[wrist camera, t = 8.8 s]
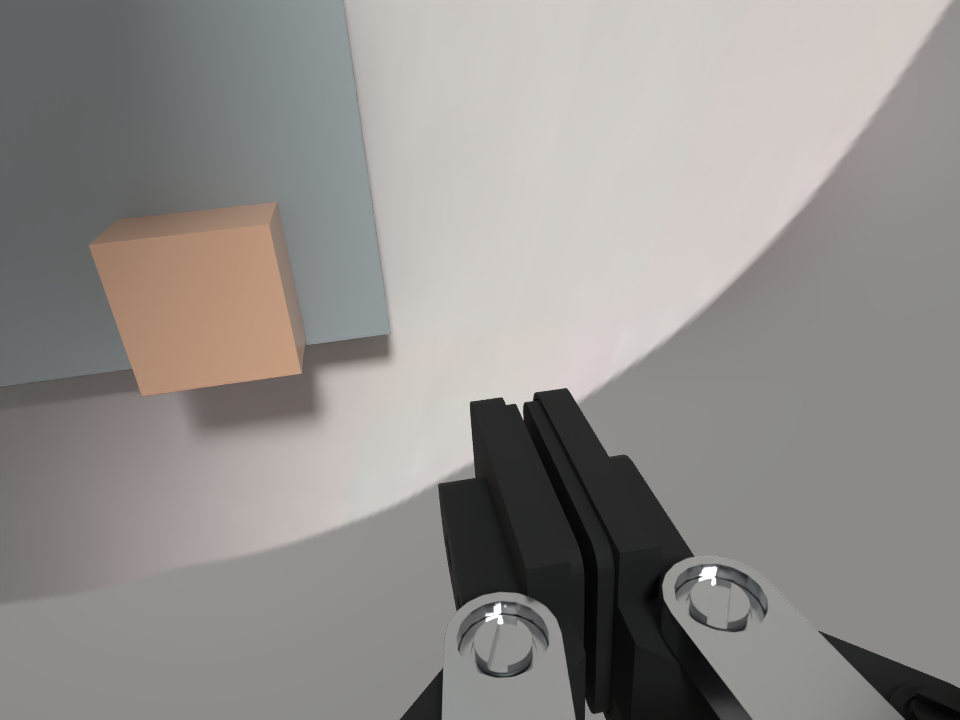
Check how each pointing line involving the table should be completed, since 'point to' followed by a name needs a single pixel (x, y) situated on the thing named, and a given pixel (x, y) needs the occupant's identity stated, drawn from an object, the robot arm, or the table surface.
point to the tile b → (203, 297)
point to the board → (174, 158)
